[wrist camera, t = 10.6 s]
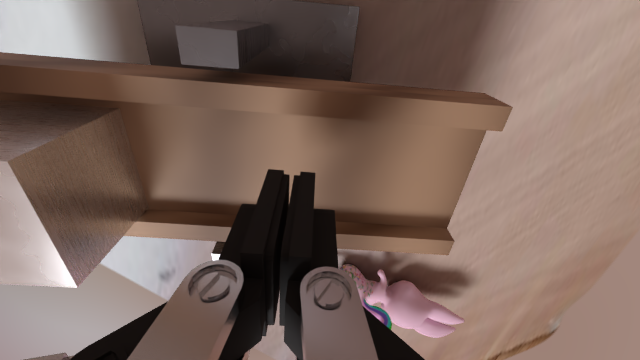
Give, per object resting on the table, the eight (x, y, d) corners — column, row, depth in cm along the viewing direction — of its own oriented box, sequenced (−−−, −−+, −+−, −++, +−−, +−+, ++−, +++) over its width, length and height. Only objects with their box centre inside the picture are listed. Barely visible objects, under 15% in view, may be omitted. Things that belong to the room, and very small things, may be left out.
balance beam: (484, 93, 13) (512, 107, 11) (433, 228, 17) (448, 255, 15) (-45, 48, 12) (-114, 55, 10) (37, 202, 16) (-1, 228, 14)
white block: (119, 108, 12) (7, 161, 8) (148, 206, 15) (77, 287, 10) (-27, 98, 12) (-228, 147, 7) (29, 200, 14) (-94, 279, 10)
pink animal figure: (313, 276, 30) (437, 327, 31) (303, 327, 25) (452, 386, 26) (337, 235, 27) (473, 293, 28) (331, 283, 22) (498, 352, 23)
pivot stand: (357, 7, 16) (391, 2, 9) (332, 203, 23) (340, 289, 16) (143, -14, 16) (-6, -36, 8) (185, 195, 23) (124, 281, 15)
